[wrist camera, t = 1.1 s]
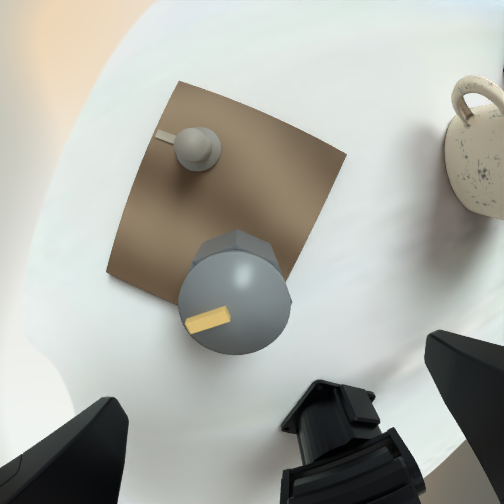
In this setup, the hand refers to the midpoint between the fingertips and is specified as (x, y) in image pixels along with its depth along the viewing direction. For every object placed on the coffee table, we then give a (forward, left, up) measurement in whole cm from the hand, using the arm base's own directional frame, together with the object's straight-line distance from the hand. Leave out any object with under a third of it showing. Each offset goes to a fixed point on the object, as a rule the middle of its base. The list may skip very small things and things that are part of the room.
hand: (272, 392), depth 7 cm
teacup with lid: (+15, -12, -12) cm, 23 cm away
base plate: (+2, +3, -12) cm, 13 cm away
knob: (-1, +1, -11) cm, 11 cm away
